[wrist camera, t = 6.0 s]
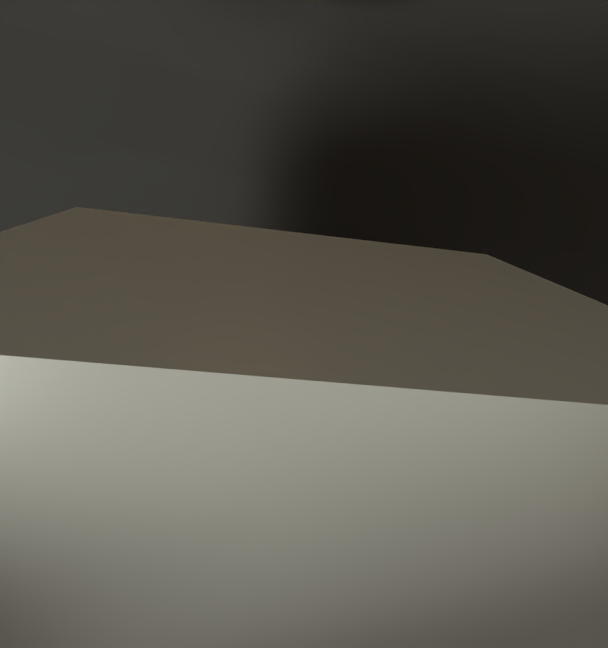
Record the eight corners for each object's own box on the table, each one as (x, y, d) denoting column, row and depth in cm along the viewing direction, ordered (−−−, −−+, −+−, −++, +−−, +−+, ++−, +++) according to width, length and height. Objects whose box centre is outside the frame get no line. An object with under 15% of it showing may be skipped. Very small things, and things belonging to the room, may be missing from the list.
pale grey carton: (67, 660, 11) (-144, 1271, 5) (76, 206, 9) (-299, 330, 3) (398, 665, 12) (558, 1196, 6) (486, 254, 9) (901, 429, 3)
